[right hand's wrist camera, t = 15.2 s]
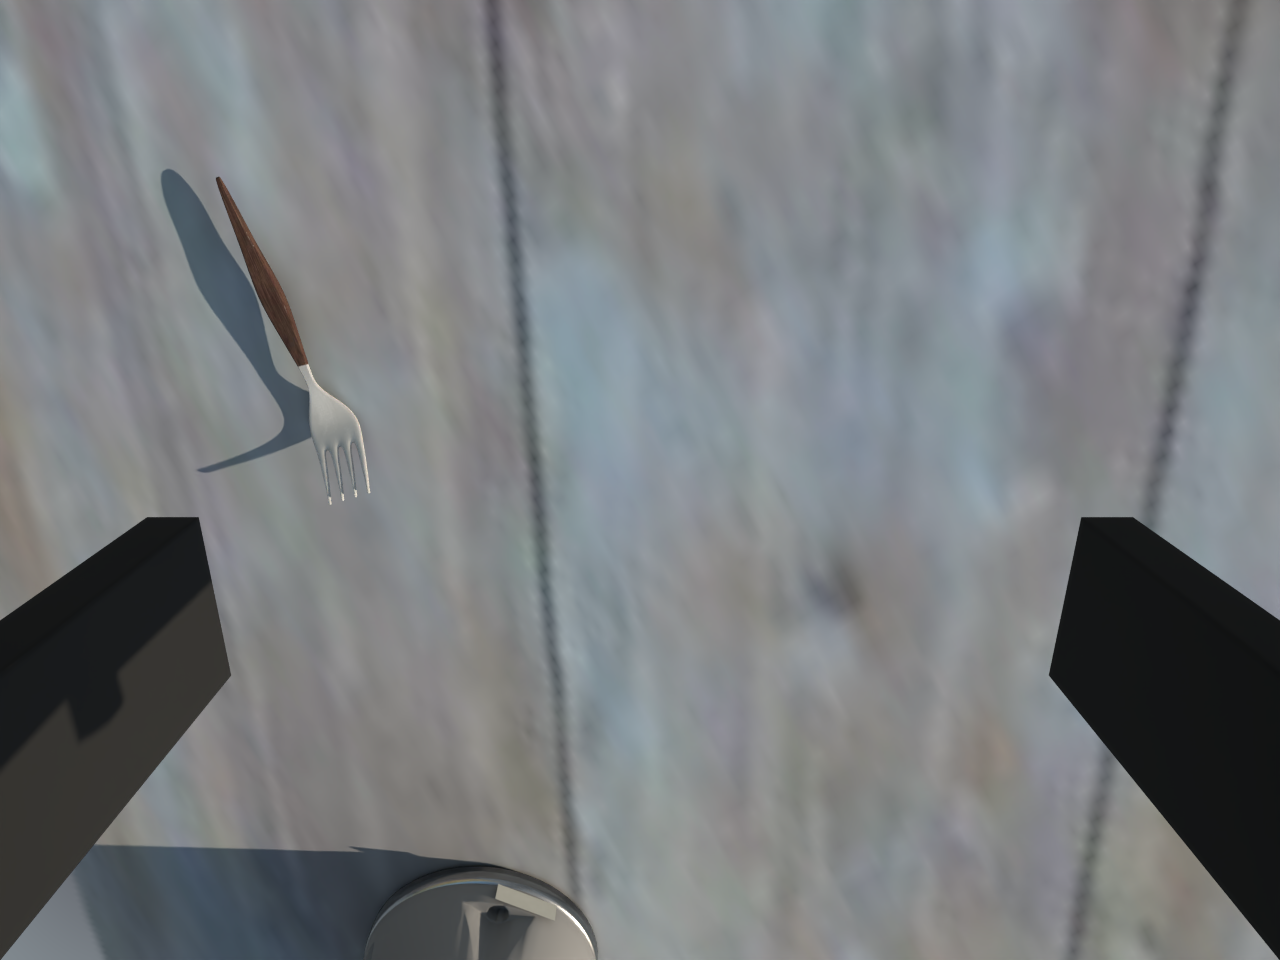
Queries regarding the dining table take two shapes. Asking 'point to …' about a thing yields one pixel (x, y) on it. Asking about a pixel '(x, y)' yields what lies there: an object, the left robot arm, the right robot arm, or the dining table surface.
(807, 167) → the dining table surface
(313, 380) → the fork
